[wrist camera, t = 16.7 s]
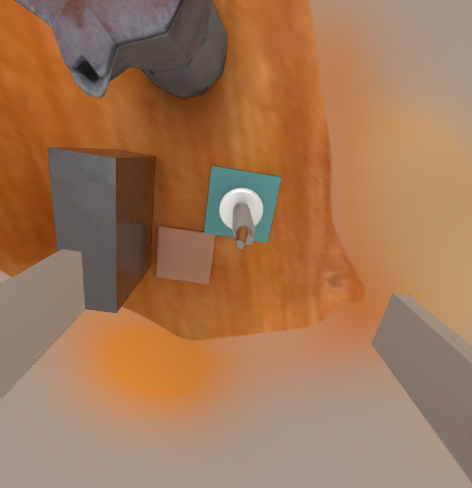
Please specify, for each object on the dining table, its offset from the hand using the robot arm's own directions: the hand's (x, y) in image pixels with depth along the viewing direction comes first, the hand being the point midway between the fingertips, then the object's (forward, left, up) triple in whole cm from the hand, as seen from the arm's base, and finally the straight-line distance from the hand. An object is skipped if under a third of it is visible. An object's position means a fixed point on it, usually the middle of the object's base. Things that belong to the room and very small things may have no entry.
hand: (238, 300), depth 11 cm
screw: (+1, 0, -20) cm, 20 cm away
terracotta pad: (-5, -7, -21) cm, 23 cm away
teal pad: (+1, 0, -21) cm, 21 cm away
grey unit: (-12, -3, -21) cm, 24 cm away
